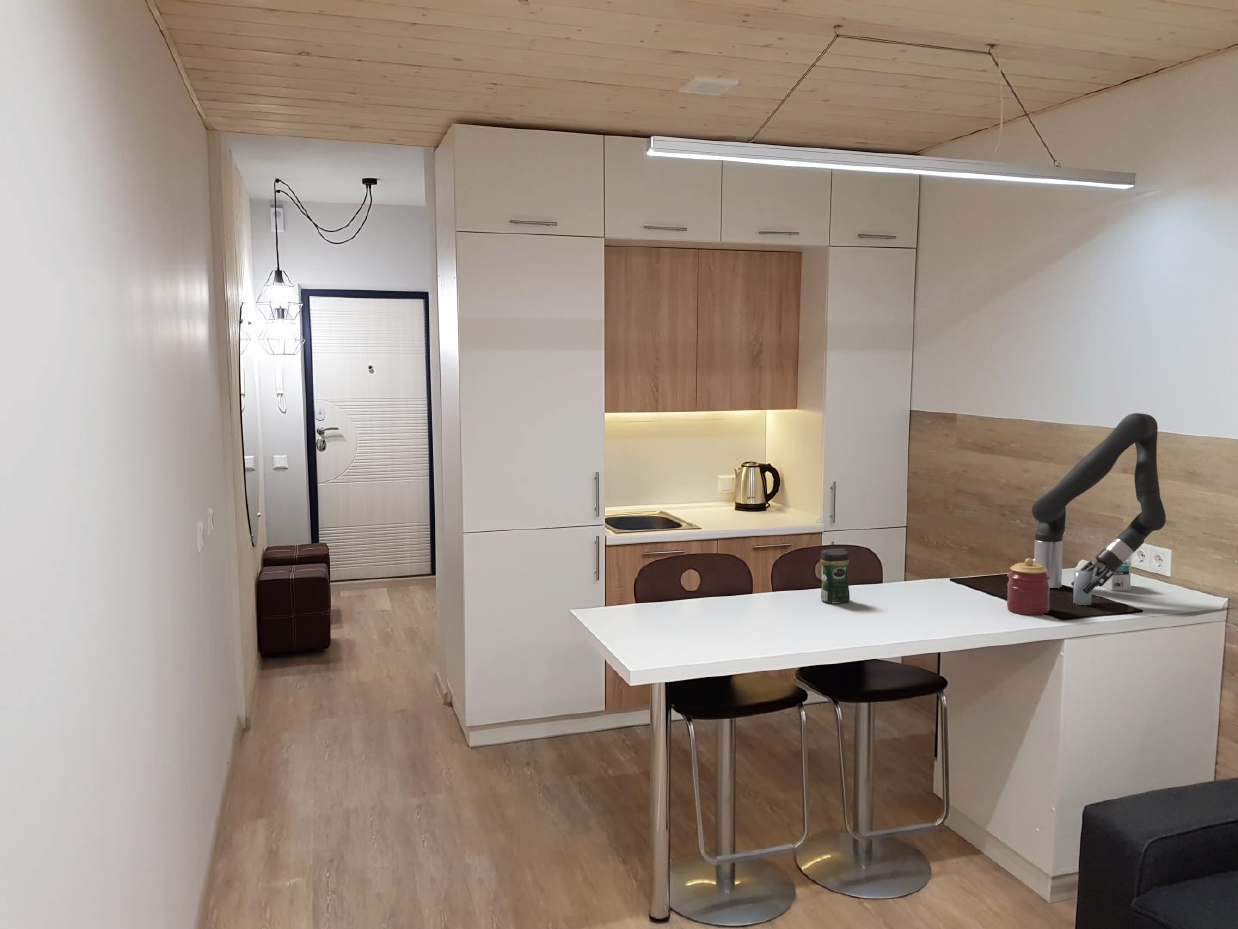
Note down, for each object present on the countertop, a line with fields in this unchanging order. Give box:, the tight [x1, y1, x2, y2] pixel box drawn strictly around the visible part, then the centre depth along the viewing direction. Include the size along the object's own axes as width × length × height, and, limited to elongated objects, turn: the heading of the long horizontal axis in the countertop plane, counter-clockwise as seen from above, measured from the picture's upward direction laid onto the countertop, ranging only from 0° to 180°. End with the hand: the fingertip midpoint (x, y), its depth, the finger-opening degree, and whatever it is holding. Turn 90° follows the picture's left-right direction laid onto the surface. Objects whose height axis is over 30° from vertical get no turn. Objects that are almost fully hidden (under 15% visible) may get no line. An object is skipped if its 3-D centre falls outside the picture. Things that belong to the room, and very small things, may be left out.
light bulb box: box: [1102, 559, 1132, 592], centre depth 336 cm, size 11×7×11 cm, turn 179°
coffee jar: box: [820, 548, 851, 604], centre depth 326 cm, size 10×8×19 cm
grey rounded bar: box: [1072, 570, 1092, 605], centre depth 314 cm, size 5×5×11 cm
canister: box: [1006, 557, 1051, 616], centre depth 307 cm, size 13×13×18 cm
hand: (1078, 589), depth 314 cm, fingers open, 8 cm apart
